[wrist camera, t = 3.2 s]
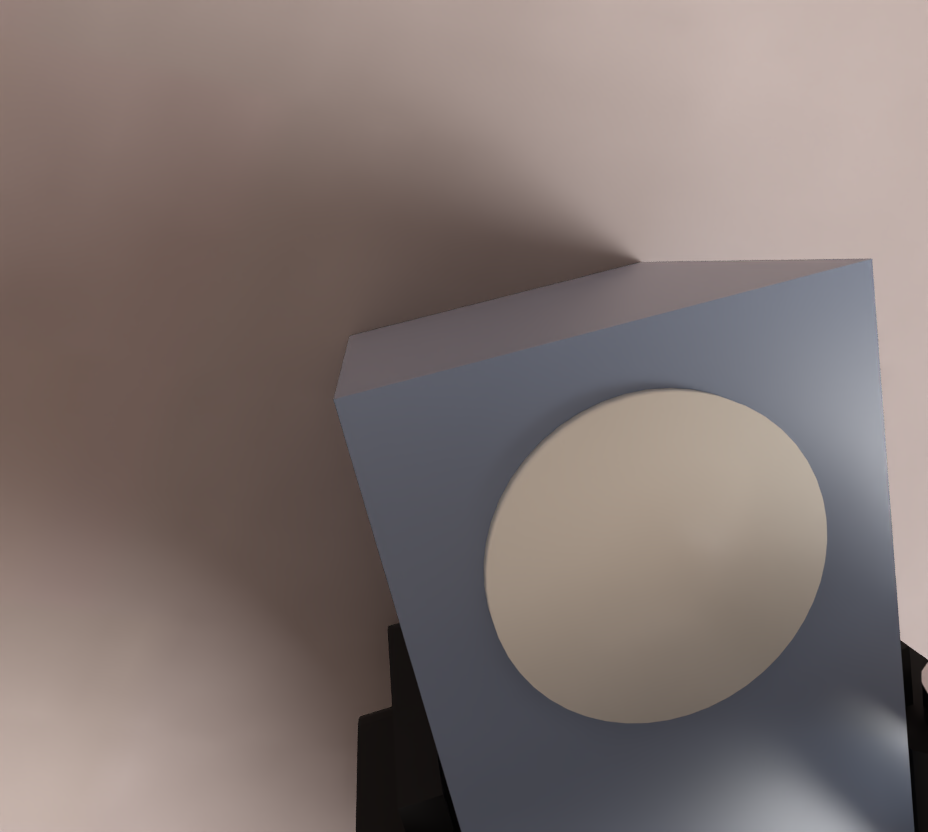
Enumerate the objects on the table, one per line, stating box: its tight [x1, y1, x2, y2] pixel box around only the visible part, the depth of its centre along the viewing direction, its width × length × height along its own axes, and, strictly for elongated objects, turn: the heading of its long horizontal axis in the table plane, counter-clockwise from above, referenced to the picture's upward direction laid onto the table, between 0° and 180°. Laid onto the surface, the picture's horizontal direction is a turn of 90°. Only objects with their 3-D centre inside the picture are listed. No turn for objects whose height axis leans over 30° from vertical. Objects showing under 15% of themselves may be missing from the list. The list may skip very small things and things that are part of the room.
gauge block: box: [333, 259, 914, 832], centre depth 10 cm, size 5×14×5 cm, turn 13°
